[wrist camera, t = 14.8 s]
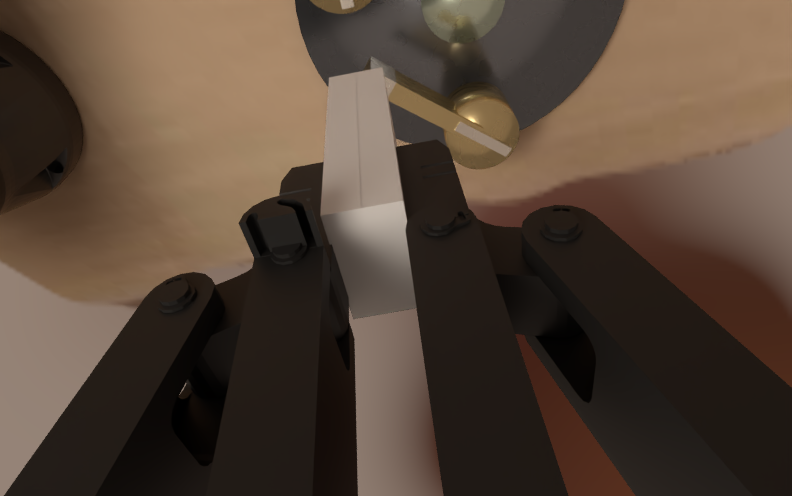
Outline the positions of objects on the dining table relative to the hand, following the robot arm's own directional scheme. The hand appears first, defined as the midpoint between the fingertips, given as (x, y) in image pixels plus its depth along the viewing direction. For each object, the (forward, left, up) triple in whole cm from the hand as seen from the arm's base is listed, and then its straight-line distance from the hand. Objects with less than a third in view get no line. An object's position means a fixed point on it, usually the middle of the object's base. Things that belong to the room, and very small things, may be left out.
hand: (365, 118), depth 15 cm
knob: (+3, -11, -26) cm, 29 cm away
